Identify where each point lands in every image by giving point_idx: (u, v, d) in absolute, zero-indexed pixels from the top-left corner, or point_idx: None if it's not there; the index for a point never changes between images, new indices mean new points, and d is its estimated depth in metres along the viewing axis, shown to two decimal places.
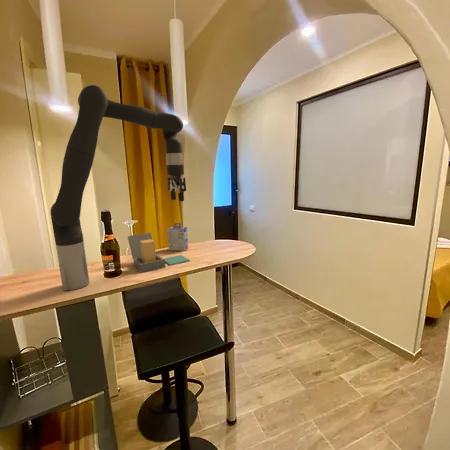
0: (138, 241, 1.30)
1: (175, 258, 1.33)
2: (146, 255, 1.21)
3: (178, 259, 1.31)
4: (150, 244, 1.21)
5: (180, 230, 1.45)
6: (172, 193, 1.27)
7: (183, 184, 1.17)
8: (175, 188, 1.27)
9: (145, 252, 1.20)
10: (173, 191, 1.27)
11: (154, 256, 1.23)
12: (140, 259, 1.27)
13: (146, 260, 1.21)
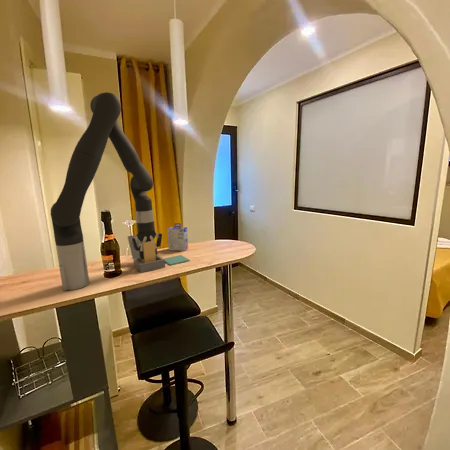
0: (138, 241, 1.30)
1: (175, 258, 1.33)
2: (146, 255, 1.21)
3: (178, 259, 1.31)
4: (150, 244, 1.21)
5: (180, 230, 1.45)
6: None
7: None
8: None
9: (145, 252, 1.20)
10: None
11: (154, 256, 1.23)
12: (140, 259, 1.27)
13: (146, 260, 1.21)
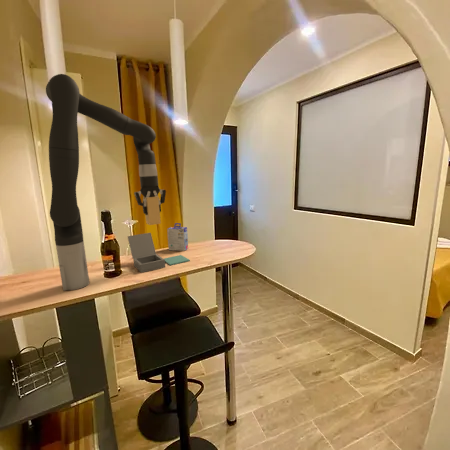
0: (138, 241, 1.30)
1: (175, 258, 1.33)
2: (150, 210, 1.19)
3: (178, 259, 1.31)
4: (154, 199, 1.19)
5: (180, 230, 1.45)
6: None
7: None
8: None
9: (149, 207, 1.18)
10: None
11: (158, 212, 1.21)
12: (140, 259, 1.27)
13: (150, 216, 1.19)
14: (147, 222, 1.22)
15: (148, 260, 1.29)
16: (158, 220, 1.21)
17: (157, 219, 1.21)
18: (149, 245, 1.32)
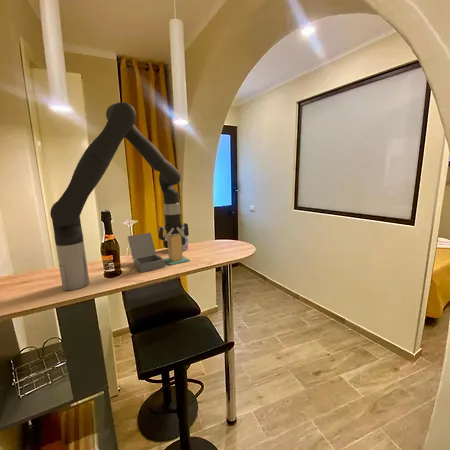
0: (138, 241, 1.30)
1: None
2: (173, 248, 1.27)
3: None
4: (177, 238, 1.28)
5: None
6: None
7: None
8: None
9: (172, 245, 1.27)
10: None
11: (180, 249, 1.29)
12: (140, 259, 1.27)
13: (173, 253, 1.28)
14: (170, 258, 1.31)
15: (148, 260, 1.29)
16: (180, 257, 1.30)
17: (179, 256, 1.30)
18: (149, 245, 1.32)
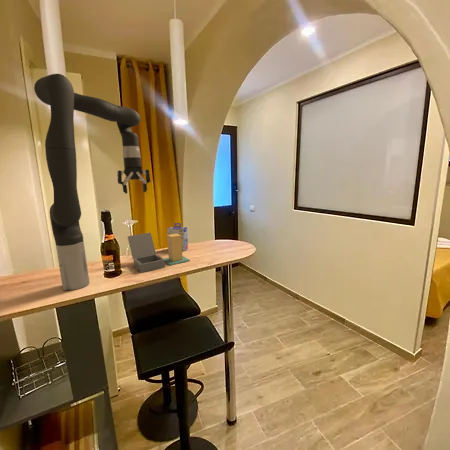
0: (138, 241, 1.30)
1: None
2: (173, 248, 1.27)
3: None
4: (177, 238, 1.28)
5: (180, 230, 1.45)
6: None
7: None
8: None
9: (172, 245, 1.27)
10: None
11: (180, 249, 1.29)
12: (140, 259, 1.27)
13: (173, 253, 1.28)
14: (170, 258, 1.31)
15: (148, 260, 1.29)
16: (180, 257, 1.30)
17: (179, 256, 1.30)
18: (149, 245, 1.32)
